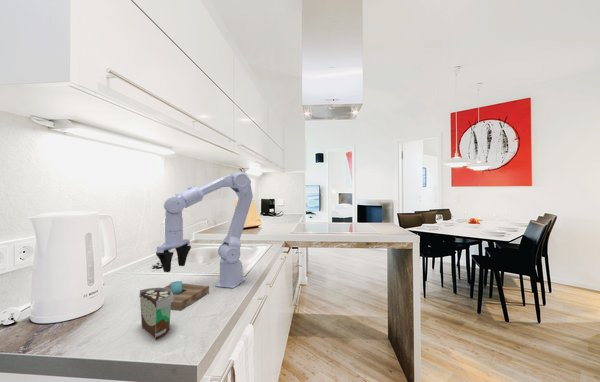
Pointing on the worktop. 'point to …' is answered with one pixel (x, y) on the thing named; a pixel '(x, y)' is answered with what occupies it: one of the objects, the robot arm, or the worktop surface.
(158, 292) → the food container
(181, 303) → the walnut collar plate
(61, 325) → the worktop surface
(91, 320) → the worktop surface
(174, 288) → the teal peg
